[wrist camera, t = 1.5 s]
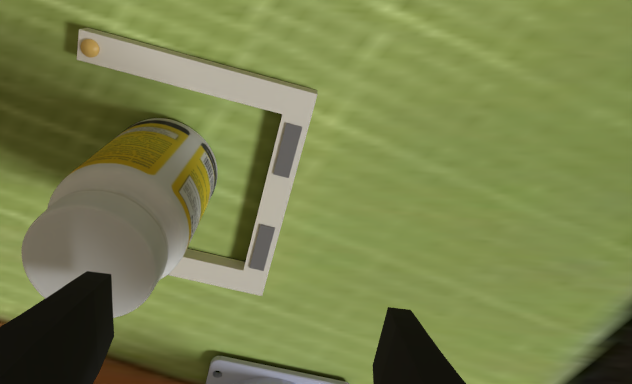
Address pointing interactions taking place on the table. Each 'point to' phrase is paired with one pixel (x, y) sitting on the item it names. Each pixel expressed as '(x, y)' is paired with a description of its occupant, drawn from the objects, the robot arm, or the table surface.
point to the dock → (237, 88)
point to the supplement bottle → (124, 213)
